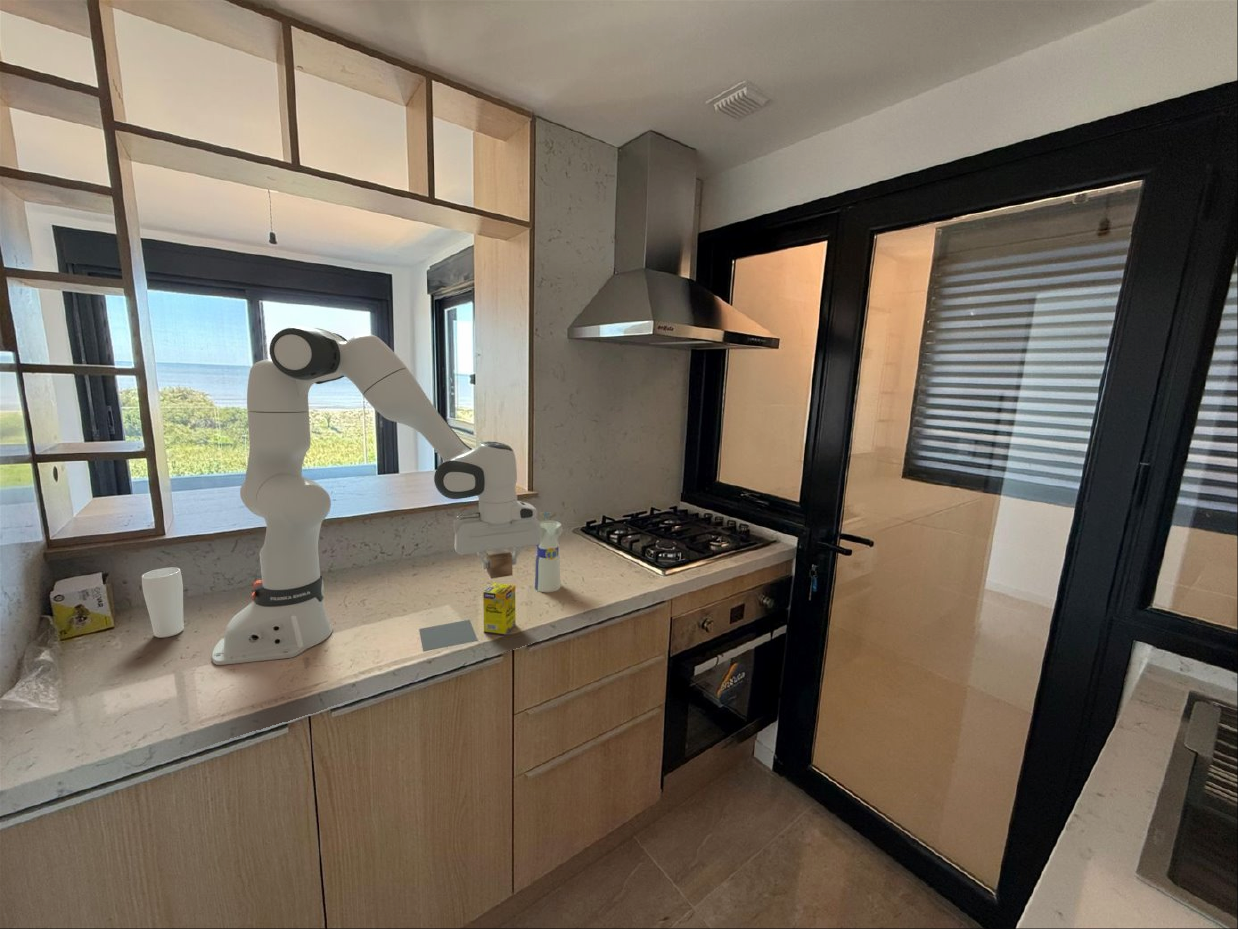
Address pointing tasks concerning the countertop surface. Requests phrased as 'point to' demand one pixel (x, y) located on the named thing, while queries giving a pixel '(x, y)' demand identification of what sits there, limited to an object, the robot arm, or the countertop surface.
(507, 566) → the walnut cube
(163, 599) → the drinking glass
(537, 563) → the white and blue cylinder
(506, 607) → the supplement box
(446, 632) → the mat
